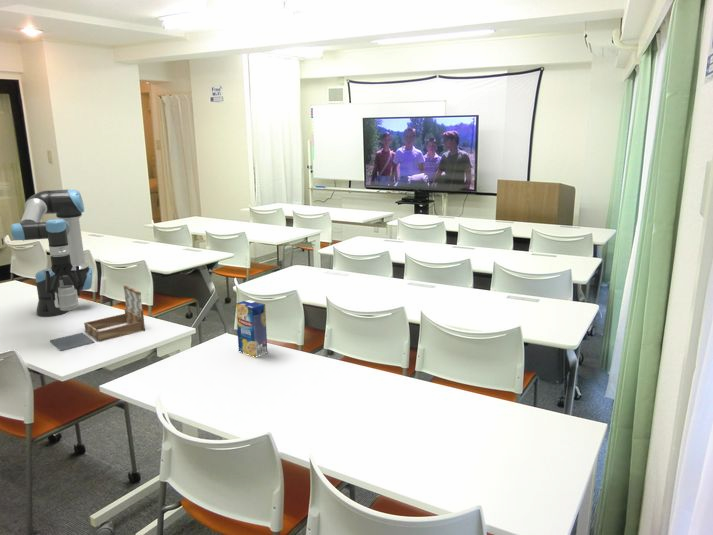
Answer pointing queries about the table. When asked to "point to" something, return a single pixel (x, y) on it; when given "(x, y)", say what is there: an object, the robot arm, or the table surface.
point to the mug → (67, 297)
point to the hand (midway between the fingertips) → (66, 304)
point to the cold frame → (120, 319)
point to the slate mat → (71, 341)
